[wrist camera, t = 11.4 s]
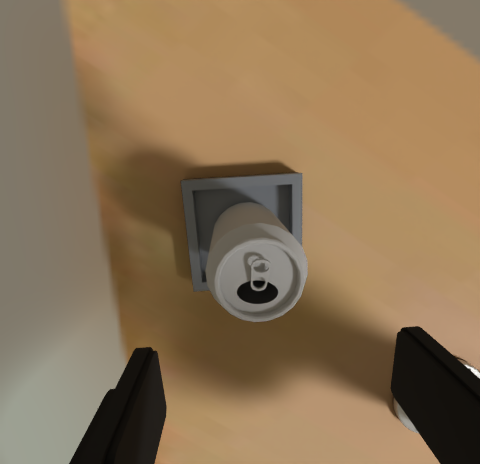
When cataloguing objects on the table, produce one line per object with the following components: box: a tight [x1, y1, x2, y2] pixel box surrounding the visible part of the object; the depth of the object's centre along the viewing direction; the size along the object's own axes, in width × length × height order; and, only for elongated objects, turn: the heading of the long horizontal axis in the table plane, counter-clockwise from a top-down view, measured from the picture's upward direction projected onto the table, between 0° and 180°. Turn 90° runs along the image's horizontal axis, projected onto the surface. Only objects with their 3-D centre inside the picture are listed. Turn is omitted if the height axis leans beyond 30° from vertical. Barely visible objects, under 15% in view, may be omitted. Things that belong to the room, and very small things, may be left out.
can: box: [205, 202, 308, 322], centre depth 23 cm, size 8×8×12 cm
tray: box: [181, 172, 302, 291], centre depth 28 cm, size 12×12×2 cm
